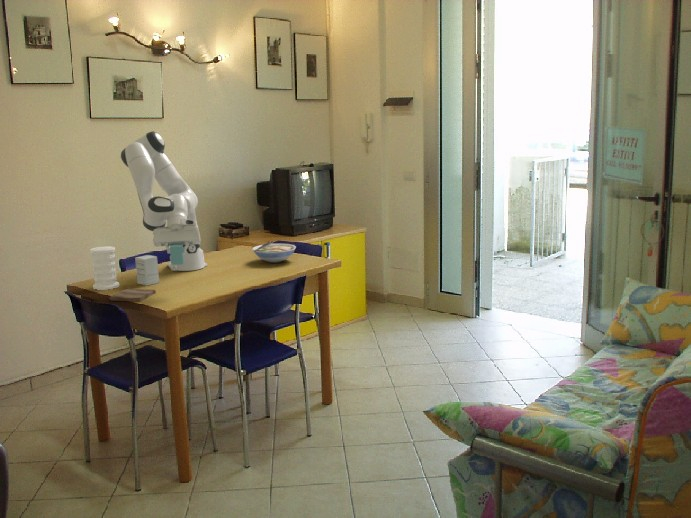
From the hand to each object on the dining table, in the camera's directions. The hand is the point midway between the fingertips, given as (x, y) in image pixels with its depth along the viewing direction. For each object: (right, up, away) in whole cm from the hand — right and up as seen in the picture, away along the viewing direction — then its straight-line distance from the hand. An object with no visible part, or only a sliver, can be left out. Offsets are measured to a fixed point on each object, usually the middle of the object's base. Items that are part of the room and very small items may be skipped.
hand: (176, 252), depth 302 cm
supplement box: (-19, -14, +23) cm, 33 cm away
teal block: (0, -5, +2) cm, 5 cm away
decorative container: (-37, -16, +18) cm, 44 cm away
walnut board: (-19, -19, 0) cm, 27 cm away
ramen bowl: (+36, -4, +64) cm, 73 cm away
